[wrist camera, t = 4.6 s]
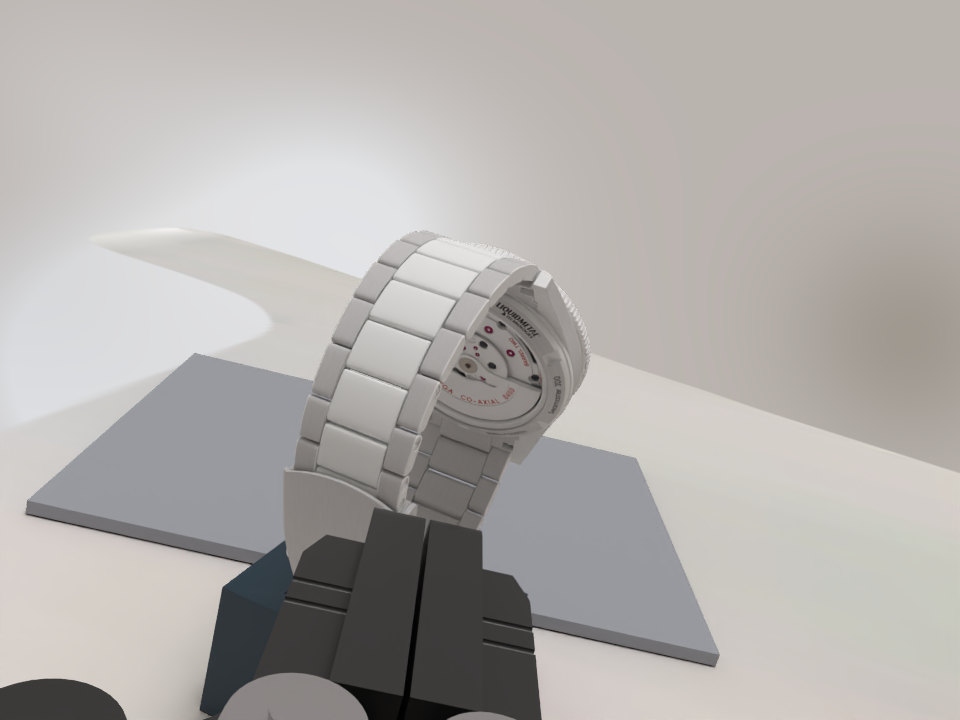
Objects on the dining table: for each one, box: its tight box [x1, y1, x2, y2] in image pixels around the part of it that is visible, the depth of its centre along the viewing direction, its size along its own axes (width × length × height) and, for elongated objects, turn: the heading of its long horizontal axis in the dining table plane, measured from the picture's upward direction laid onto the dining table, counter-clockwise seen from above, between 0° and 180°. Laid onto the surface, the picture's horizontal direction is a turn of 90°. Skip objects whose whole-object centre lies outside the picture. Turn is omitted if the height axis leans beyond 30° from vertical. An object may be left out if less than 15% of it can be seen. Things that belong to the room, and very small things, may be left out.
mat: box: [26, 353, 720, 666], centre depth 30 cm, size 20×14×1 cm
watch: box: [200, 231, 590, 716], centre depth 18 cm, size 6×8×11 cm
